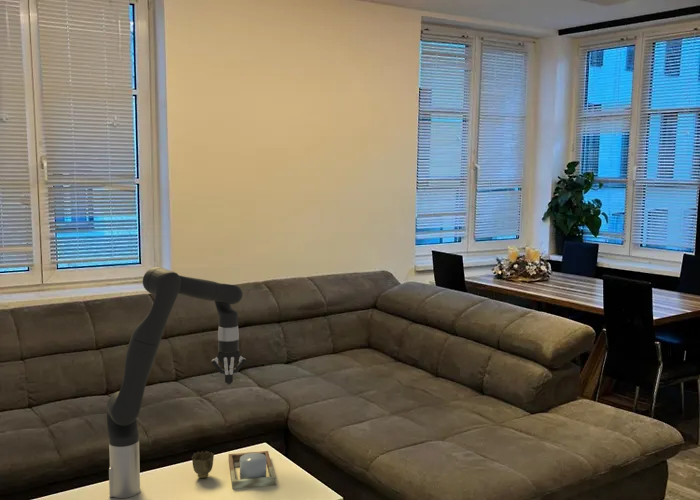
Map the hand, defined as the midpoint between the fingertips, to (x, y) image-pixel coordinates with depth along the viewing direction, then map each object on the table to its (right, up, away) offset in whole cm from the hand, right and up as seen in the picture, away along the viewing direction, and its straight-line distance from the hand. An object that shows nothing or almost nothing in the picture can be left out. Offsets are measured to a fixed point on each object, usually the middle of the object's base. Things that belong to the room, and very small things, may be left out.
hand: (228, 383), depth 249 cm
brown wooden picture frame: (+10, -29, -13) cm, 33 cm away
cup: (-6, -29, -17) cm, 34 cm away
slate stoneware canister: (+12, -29, -18) cm, 36 cm away
